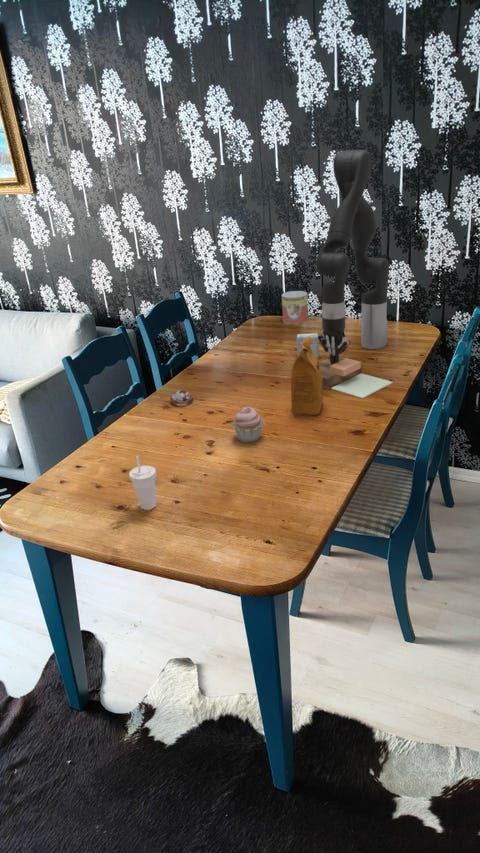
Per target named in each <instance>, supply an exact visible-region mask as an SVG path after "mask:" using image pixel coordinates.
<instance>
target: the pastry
mask: <svg viewBox="0 0 480 853" xmlns="http://www.w3.org/2000/svg"><path fill="white" fill-rule="evenodd" d="M193 402H194V398H193V395H192V394H191V393H189V392H188V390H185V389H184V388H179V390H177V392H175V393H173V394H172V395H171V396H170V403H171V405H172V406H174V407H177V408H183V407H188V406H189V405H191V404H193Z"/></svg>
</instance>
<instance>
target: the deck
mask: <svg viewBox="0 0 480 853" xmlns="http://www.w3.org/2000/svg"><path fill="white" fill-rule="evenodd" d="M344 359H346V357H343V356H339V361H342V360H344ZM319 362H320V365H321V369H322V376H323V390H327V391H328V390H331V388H332V387H334V386H336V385H338V384H340V383H342V382H344V381H346V380H348V379H351V378H353V377H355V376H357V375H359V374H361V373H362V374H363V362H362V361H360V362H361V368H360V369H358V370H356V371H354V372H352V373H350V374H348V375H346V376H341V375H337V374H334V373H331V372H329V366H330V365H331V363H330V357H329V358H326V359H324V360H321V361H319Z"/></svg>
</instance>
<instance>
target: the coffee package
mask: <svg viewBox="0 0 480 853" xmlns="http://www.w3.org/2000/svg"><path fill="white" fill-rule="evenodd" d="M312 342H313V339H312V338H311V337H307V339H306V340H305V341H304V342H303V343H301V347H302V351H301V353H300V354H299V356H298V355H297V357H296V358H295V360H294V362H293V366H292V368H291V376H290V378H291V379H290V391H291V393H290V394H291V396H290V397H291V398H290V399H291V400H290V401H291V413H292V415H293V416H301V415H309V416H314V415H319V414H320V412H321V409H322V405H323V400H324V397H323V396H324V388H323V376H322V369H321V365H320V362H321V361H320V360H319V358H317V357H316V356H315V355H314V354H313V352H312V349H311V347H310V345H311V344H312Z"/></svg>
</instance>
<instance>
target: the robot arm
mask: <svg viewBox="0 0 480 853" xmlns="http://www.w3.org/2000/svg"><path fill="white" fill-rule="evenodd" d="M332 165H333V166H332V168H333V173H334V174H333V175H334V178H335V181H336V184H337V187H338V190H339V193H340V196H341V200H342V202H341V203H340V204H339V206H338V207H337V208H336V210H335V211H334V212H333V214H332V217H331V219H330V222H329V227H328V232H327V237H326V239H325V241H324V243H323V244H322V247H321V249H320V251H319V253H318V255H317V258H316V261H315V268H316V271H317V273H318V275H322V276H332V277H333V276H334V277H335V280H334V281H329V282H326V283H324V284H323V285H322V288H321V292H322V301H321V302H322V304H321V305H322V306H321V325H322V327H321V328H322V330H323V331H322V333H321V334H320V335H318V342H319V343H320V345H321V346H322V348H323V350H324V352H327V353H328V354H329V358H330V363H331V365H333V364H335V363H337V362H339V357H340V355H341V354H343V353H344V352H346V350H347V349H348V347H349V346H350V345H351V343H352V341H351V340H348V339H347V338H346V334H345V328H346V305H345V287H346V281H347V276H348V274H349V270H350V267H351V266H350V265H351V260H350V258H349V256H348V254H346V253H343V252H336V251H337V250H339V249H341V248H346V247H347V246H348V245H349V243H350V239H351V245H352V247H353V255H354V260H355V261H354V262H355V269H356V277H357V278H358V281H359V282H360V283H361V284H374V285H376V286H375V288H373V289H371V290H368V291H366V292H364V293H362V294H361V307H360V308H361V311H360V313H361V326H360V327H361V333H360V334H361V337H360V338H361V344H360V346H361V347H362V348H364V349H368V350H379V349H383V348H385V347H386V345H387V344H388V321H389V320H388V319H387V312H388V311H387V308H388V307H387V304H388V291H389V290H388V289H389V288H388V287H389V275H390V264H389V260H388V258H385V257H369V256H368V253H367V251H368V247H369V246H370V243H371V241H372V240H373V238H374V236H375V234H376V231H377V222H376V216H375V212H374V209H373V207H372V206H371V204H370V203H369V202H368V201H367V199H366V198H364V197H363V195H364V192H365V190H366V187H367V184H368V181H369V177H370V175H371V172H372V155H371V153H370V151H368V150H365V149H358V150H357V149H352V150H351V149H350V150H349V149H348V150H340V151H337V152H336V154H335V155H334V157H333V164H332Z"/></svg>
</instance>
